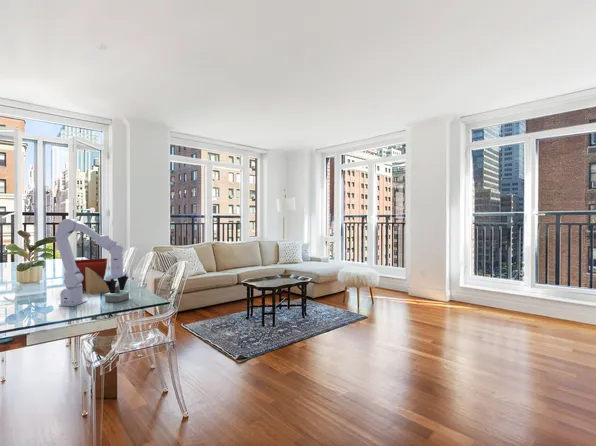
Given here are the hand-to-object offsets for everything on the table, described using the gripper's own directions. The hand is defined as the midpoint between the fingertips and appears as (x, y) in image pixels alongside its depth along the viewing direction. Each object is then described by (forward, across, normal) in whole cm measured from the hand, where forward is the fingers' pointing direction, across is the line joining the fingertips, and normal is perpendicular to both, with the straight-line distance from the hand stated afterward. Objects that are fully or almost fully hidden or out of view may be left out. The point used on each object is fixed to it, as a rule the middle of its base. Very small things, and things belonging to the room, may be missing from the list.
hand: (117, 291), depth 178 cm
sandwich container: (+5, +19, +24) cm, 31 cm away
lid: (+1, 0, 0) cm, 1 cm away
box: (+5, 0, 0) cm, 5 cm away
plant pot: (+5, +26, +38) cm, 47 cm away
